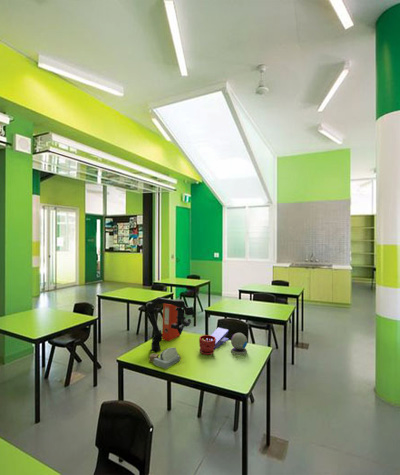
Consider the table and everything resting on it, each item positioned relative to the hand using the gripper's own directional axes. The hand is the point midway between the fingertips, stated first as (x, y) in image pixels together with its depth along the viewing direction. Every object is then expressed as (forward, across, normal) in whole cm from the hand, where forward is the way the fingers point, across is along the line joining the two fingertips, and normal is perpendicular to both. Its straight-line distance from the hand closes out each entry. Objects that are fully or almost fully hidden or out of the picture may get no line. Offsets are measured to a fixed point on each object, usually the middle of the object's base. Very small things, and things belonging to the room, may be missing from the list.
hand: (180, 334), depth 223 cm
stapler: (+12, +30, -18) cm, 37 cm away
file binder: (+12, +16, +22) cm, 30 cm away
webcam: (+12, +25, -41) cm, 50 cm away
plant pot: (+12, +8, -22) cm, 26 cm away
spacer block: (+12, -28, +3) cm, 30 cm away
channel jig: (+12, -24, -7) cm, 27 cm away
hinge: (+12, -22, -7) cm, 26 cm away
